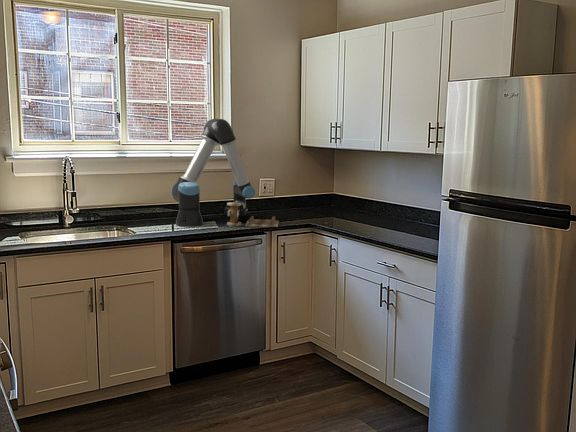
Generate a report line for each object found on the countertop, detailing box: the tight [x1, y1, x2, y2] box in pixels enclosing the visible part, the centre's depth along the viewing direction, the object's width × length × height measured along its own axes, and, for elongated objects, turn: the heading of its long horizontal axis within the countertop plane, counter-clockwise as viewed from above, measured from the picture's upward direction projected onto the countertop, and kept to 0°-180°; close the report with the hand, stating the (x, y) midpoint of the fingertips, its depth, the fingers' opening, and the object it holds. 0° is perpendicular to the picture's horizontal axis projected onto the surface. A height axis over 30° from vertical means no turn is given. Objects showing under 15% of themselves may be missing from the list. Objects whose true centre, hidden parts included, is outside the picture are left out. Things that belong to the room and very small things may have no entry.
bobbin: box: [226, 201, 242, 227], centre depth 337 cm, size 8×8×12 cm
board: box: [245, 215, 280, 228], centre depth 340 cm, size 18×14×4 cm
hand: (232, 213), depth 332 cm, fingers closed on bobbin, 4 cm apart
